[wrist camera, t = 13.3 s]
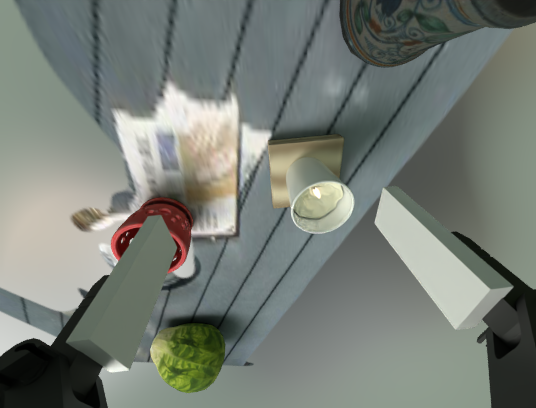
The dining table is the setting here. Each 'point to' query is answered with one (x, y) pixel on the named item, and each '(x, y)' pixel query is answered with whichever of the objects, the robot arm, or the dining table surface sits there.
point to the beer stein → (421, 24)
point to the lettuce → (189, 356)
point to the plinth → (294, 149)
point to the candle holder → (317, 196)
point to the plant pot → (174, 219)
